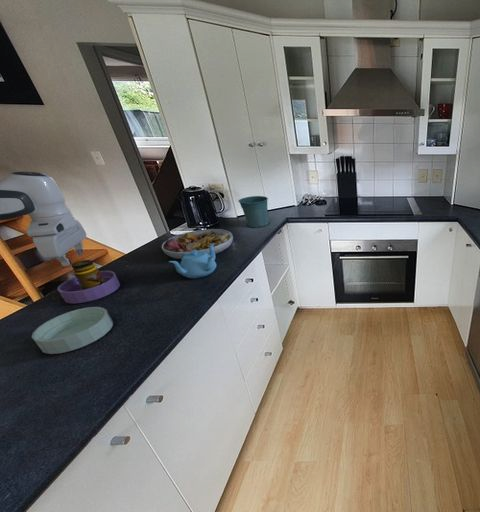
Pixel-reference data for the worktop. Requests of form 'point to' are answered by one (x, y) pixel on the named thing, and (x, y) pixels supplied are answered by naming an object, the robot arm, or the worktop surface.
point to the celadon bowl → (72, 330)
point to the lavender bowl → (75, 296)
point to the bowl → (197, 242)
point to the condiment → (87, 274)
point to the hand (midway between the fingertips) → (74, 259)
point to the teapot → (196, 263)
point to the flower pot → (255, 210)
